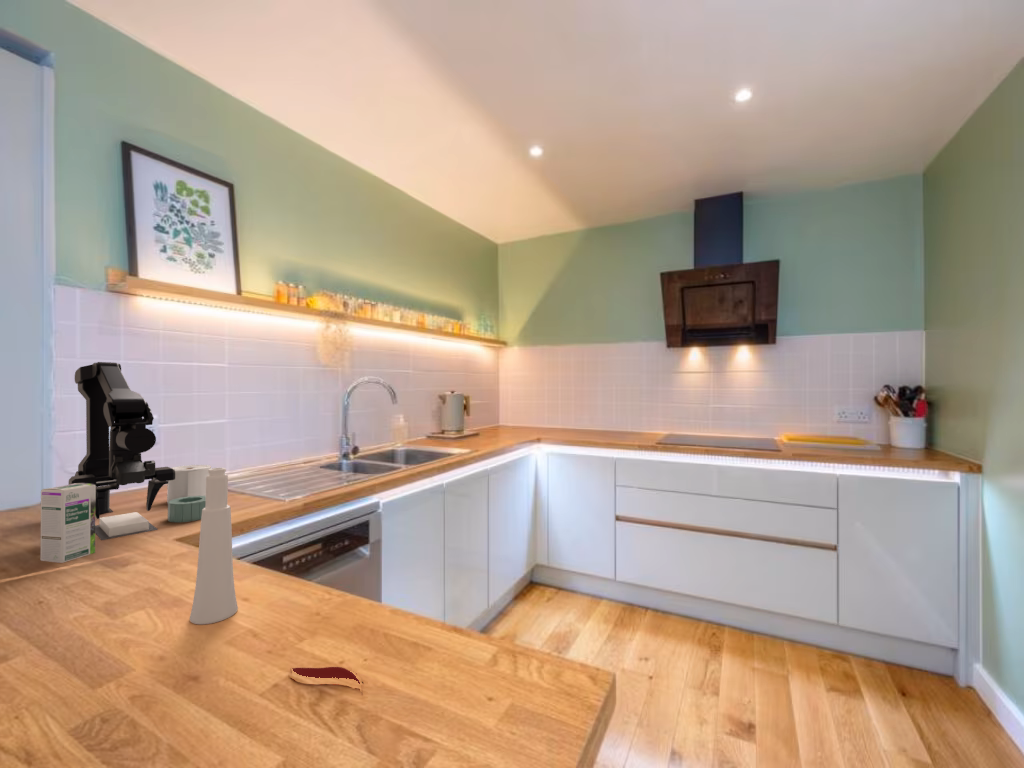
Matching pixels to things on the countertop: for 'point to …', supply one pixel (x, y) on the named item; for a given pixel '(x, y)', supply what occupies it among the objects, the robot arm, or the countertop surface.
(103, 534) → the mat
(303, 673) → the cayenne pepper
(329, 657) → the countertop surface
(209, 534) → the cosmetic bottle
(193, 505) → the bowl
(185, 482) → the toilet tissue
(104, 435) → the robot arm
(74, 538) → the syrup box
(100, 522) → the white rectangular block
